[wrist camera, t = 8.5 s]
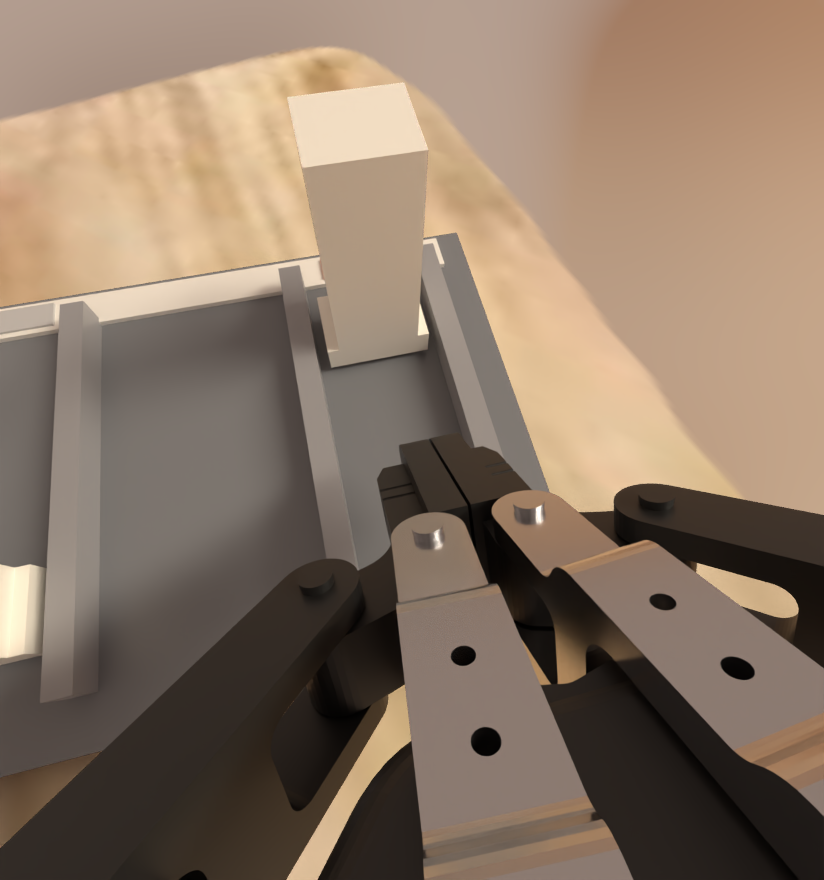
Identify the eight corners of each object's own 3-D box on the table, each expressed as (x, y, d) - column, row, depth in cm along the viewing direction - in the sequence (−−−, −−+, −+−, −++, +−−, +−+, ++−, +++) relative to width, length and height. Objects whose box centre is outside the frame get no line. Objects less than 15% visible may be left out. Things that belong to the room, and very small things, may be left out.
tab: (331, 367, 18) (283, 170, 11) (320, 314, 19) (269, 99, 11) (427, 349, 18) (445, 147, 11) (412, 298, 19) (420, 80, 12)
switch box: (-116, 804, 15) (-269, 850, 11) (-50, 360, 21) (-138, 303, 17) (569, 625, 17) (611, 618, 14) (451, 273, 23) (459, 209, 20)
